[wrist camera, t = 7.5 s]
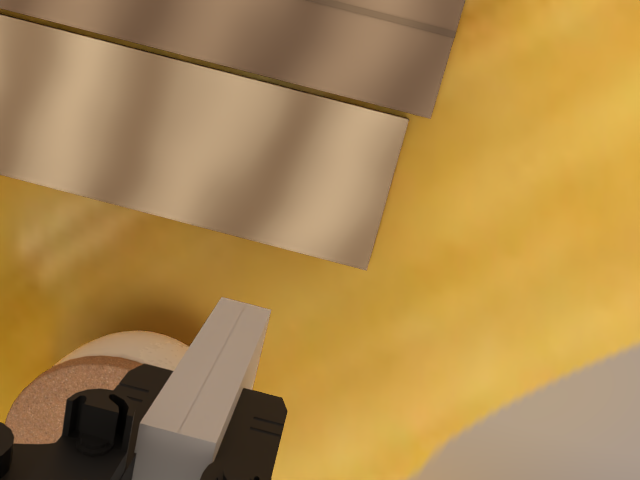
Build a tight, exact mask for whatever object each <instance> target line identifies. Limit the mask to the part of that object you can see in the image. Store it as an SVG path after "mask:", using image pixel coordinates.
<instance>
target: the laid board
mask: <svg viewBox="0 0 640 480" xmlns="http://www.w3.org/2000/svg"><path fill="white" fill-rule="evenodd" d="M464 3H465V0H0V8H1V9H5V10H9V11H13V12H17V13H21V14H24V15H28V16H32V17H36V18H40V19H44V20H48V21H52V22H56V23H60V24H63V25H67V26H71V27H75V28H79V29H83V30H87V31H91V32H95V33H98V34H102V35H106V36H110V37H114V38H118V39H122V40H126V41H130V42H134V43H137V44H141V45H145V46H149V47H153V48H157V49H161V50H165V51H169V52H173V53H176V54H180V55H184V56H188V57H192V58H196V59H200V60H204V61H208V62H212V63H215V64H219V65H223V66H227V67H231V68H235V69H239V70H243V71H247V72H251V73H254V74H258V75H262V76H266V77H270V78H274V79H278V80H282V81H286V82H289V83H293V84H297V85H301V86H305V87H309V88H313V89H317V90H321V91H325V92H328V93H332V94H336V95H340V96H344V97H348V98H352V99H356V100H360V101H364V102H367V103H371V104H375V105H379V106H383V107H387V108H391V109H395V110H399V111H403V112H406V113H410V114H414V115H418V116H422V117H426V118H430V119H431V115H432V112H433V109H434V105H435V102H436V98H437V95H438V92H439V88H440V85H441V81H442V78H443V75H444V71H445V68H446V64H447V61H448V58H449V54H450V51H451V47H452V44H453V40H454V38H455V34H456V30H457V27H458V23H459V20H460V17H461V13H462V10H463V6H464Z"/></svg>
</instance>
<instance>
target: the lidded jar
mask: <svg viewBox="0 0 640 480" xmlns="http://www.w3.org/2000/svg"><path fill="white" fill-rule="evenodd" d="M188 348H189V346H188V345H186V344H184V343H182V342H181V341H179V340H177V339H174V338H172V337H169V336H167V335H164V334H160V333H155V332H150V331H140V330H138V331H124V332H118V333H113V334H108V335H105V336H103V337H100V338H98V339H95V340H93V341H90V342H88V343H86V344H84V345H82V346H81V347H79V348H77V349H76V350H74V351H73V352H71V353H69V354H68V355H66V356H65V357H63V358H62V359H61V360H60V361H58V362H57V363H56V364H55V365H54V366H52V367H51V368H50V369H48V370H47V371H45V372H44V373H42V374H41V375H39V376H38V377H37V378H36V379H35V380H34V381H33V382H31V383H30V384H29V385H28V386H27V387H26V388H25V389H24V390H23V391H22V392H21V393H20V395H19V396H18V397H17V399H16V400H15V401H14V403H13V405H12V407H11V409H10V411H9V413H8V415H7V418H6V422H5V425H6V426H7V427H9V428H10V429H11V430H12V433H13V435H14V443H17V444H50V443H55V442H57V440H58V439H59V438H60V437H61V436H62V430H63V423H64V415H65V408H66V401H67V399H68V398H69V397H71V396H72V395H73V394H75V393H77V392H81V391H84V390H87V389H100V388H101V389H108V390H114V389H115V388H116V386H117V385H119V383H120V381H121V380H122V379H123V377H124V376H125V375H126V374H127V372H128V371H130V370H132V369H134V368H136V367H138V366H140V365H142V364H144V363H145V364H149V365H153V366H157V367H160V368H164V369H168V370H172V371H174V370H175V368H176V367H177V365H178V363H179V362H180V360H181V359H182V357H183V356H184V354H185V353H186V351H187V350H188Z"/></svg>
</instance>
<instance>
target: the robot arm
mask: <svg viewBox="0 0 640 480" xmlns="http://www.w3.org/2000/svg"><path fill="white" fill-rule="evenodd" d="M270 314H271V310H270V309H266V308H262V307H259V306H255V305H251V304H247V303H243V302H239V301H235V300H232V299H228V298H224V297H221V299H220V300H219V302H218V303H217V305H216V307H215V308H214V310H213V311H212V313H211V314H210V316H209V317H208V319H207V320H206V322H205V323H204V325H203V327H202V328H201V330H200V331H199V333H198V334H197V336H196V337H195V339H194V340H193V342H192V343H191V345H190V347H189V348H188V350H187V351H186V353H185V354H184V356H183V357H182V359H181V360H180V362H179V363H178V365H177V367H176V368H175V370H174V371H172V370H168V369H164V368H160V367H157V366H153V365H149V364H145V363H144V364H142V365H140V366H138V367H136V368H134V369H132V370H130V371H128V372H127V374H126V375H125V376H124V377H123V379H122V380H121V381H120V383H119V385H117V386H116V388H115V389H114V390H108V389H101V388H100V389H87V390H84V391H81V392H77V393H75V394H73V395H72V396H71V397H69V398H68V399H67V401H66V408H65V415H64V423H63V430H62V436H61V437H60V438H59V439H58V440H57V442H55V443H50V444H17V443H14V435H13V433H12V430H11V429H10V428H9V427H7V426H6V425H5V424H3V423H1V422H0V480H271V476H272V472H273V468H274V464H275V460H276V456H277V451H278V447H279V443H280V439H281V435H282V431H283V427H284V423H285V419H286V415H287V409H286V407H285V404H284V401H283V399H282V398H281V397H277V396H273V395H269V394H265V393H262V392H258V391H254V390H252V389H253V385H254V380H255V376H256V372H257V368H258V364H259V360H260V355H261V351H262V347H263V343H264V339H265V334H266V330H267V326H268V322H269V318H270Z"/></svg>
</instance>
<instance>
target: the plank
mask: <svg viewBox="0 0 640 480" xmlns="http://www.w3.org/2000/svg"><path fill="white" fill-rule="evenodd" d="M408 121H409V119H408V118H405V117H401V116H397V115H393V114H389V113H385V112H381V111H377V110H374V109H370V108H366V107H362V106H358V105H354V104H350V103H346V102H342V101H339V100H335V99H331V98H327V97H323V96H319V95H315V94H311V93H307V92H303V91H300V90H296V89H292V88H288V87H284V86H280V85H276V84H272V83H268V82H264V81H261V80H257V79H253V78H249V77H245V76H241V75H237V74H233V73H229V72H226V71H222V70H218V69H214V68H210V67H206V66H202V65H198V64H194V63H190V62H187V61H183V60H179V59H175V58H171V57H167V56H163V55H159V54H155V53H152V52H148V51H144V50H140V49H136V48H132V47H128V46H124V45H120V44H116V43H113V42H109V41H105V40H101V39H97V38H93V37H89V36H85V35H81V34H78V33H74V32H70V31H66V30H62V29H58V28H54V27H50V26H46V25H42V24H39V23H35V22H31V21H27V20H23V19H19V18H15V17H11V16H7V15H4V14H0V175H3V176H7V177H11V178H15V179H19V180H23V181H26V182H30V183H34V184H38V185H42V186H45V187H49V188H53V189H57V190H61V191H65V192H68V193H72V194H76V195H80V196H84V197H88V198H91V199H95V200H99V201H103V202H107V203H110V204H114V205H118V206H122V207H126V208H130V209H133V210H137V211H141V212H145V213H149V214H153V215H156V216H160V217H164V218H168V219H172V220H176V221H179V222H183V223H187V224H191V225H195V226H198V227H202V228H206V229H210V230H214V231H218V232H221V233H225V234H229V235H233V236H237V237H241V238H244V239H248V240H252V241H256V242H260V243H264V244H267V245H271V246H275V247H279V248H283V249H286V250H290V251H294V252H298V253H302V254H306V255H309V256H313V257H317V258H321V259H325V260H329V261H332V262H336V263H340V264H344V265H348V266H351V267H355V268H359V269H363V270H367V268H368V264H369V260H370V257H371V253H372V250H373V246H374V243H375V239H376V235H377V232H378V228H379V225H380V221H381V218H382V214H383V211H384V207H385V203H386V200H387V196H388V193H389V189H390V186H391V182H392V178H393V175H394V171H395V168H396V164H397V161H398V157H399V153H400V150H401V146H402V143H403V139H404V136H405V132H406V129H407V125H408Z"/></svg>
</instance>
